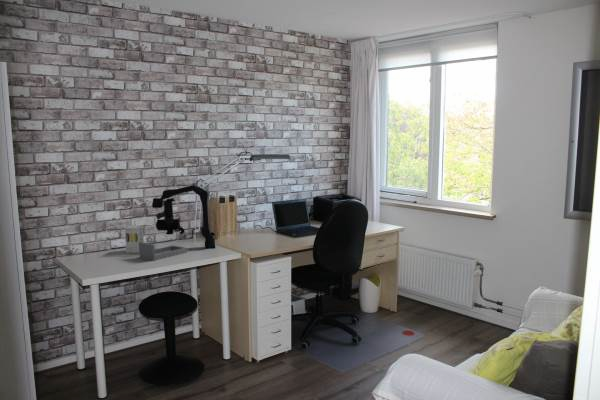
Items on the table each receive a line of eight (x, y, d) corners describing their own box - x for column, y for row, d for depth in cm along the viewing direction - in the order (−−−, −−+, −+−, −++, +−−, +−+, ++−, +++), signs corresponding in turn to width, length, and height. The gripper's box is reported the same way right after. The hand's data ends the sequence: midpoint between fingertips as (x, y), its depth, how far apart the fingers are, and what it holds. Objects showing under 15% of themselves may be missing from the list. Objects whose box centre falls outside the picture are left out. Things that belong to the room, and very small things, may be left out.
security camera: (183, 234, 336) (182, 219, 335) (156, 235, 335) (155, 220, 333) (185, 232, 343) (184, 218, 342) (158, 233, 341) (157, 219, 340)
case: (172, 249, 335) (172, 235, 333) (187, 252, 326) (186, 237, 325) (139, 257, 313) (138, 242, 312) (153, 260, 305) (152, 244, 304)
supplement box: (125, 252, 327) (124, 227, 325) (130, 249, 337) (128, 225, 334) (140, 252, 327) (138, 227, 325) (144, 249, 336) (143, 225, 334)
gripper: (156, 206, 343) (157, 228, 345) (155, 210, 325) (157, 233, 327) (173, 205, 346) (174, 227, 348) (173, 209, 328) (174, 232, 330)
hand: (169, 230), depth 338 cm, fingers closed on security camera, 7 cm apart
